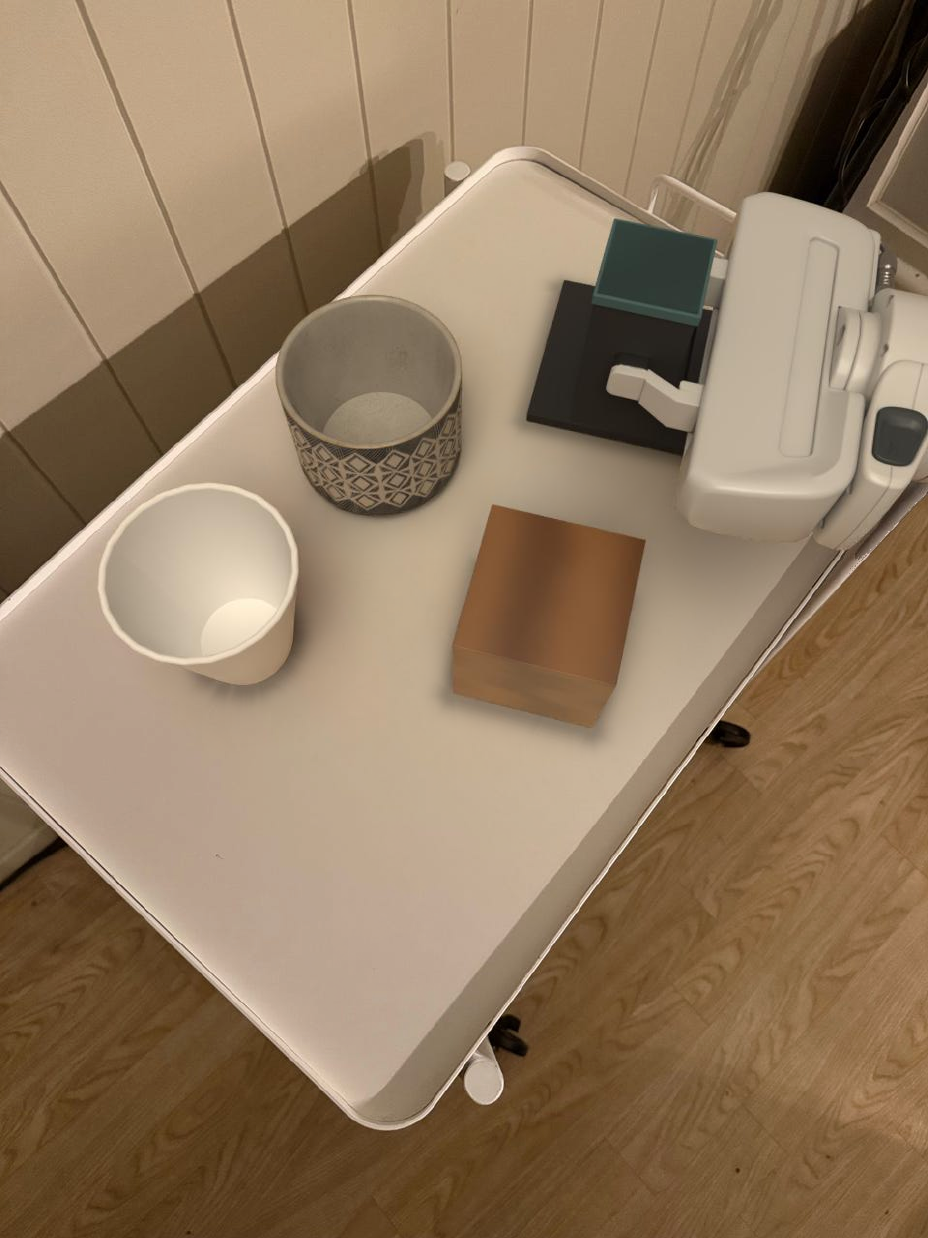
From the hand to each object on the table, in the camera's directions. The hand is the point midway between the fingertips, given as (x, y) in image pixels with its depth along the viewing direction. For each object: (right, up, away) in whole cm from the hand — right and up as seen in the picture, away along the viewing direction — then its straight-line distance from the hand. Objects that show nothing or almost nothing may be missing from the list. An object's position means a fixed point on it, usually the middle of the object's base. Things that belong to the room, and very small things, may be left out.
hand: (621, 325), depth 46 cm
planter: (-15, -2, +23) cm, 27 cm away
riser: (-3, -18, +17) cm, 24 cm away
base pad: (+6, +5, +26) cm, 27 cm away
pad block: (+1, -2, +5) cm, 6 cm away
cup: (-24, -17, +17) cm, 34 cm away
